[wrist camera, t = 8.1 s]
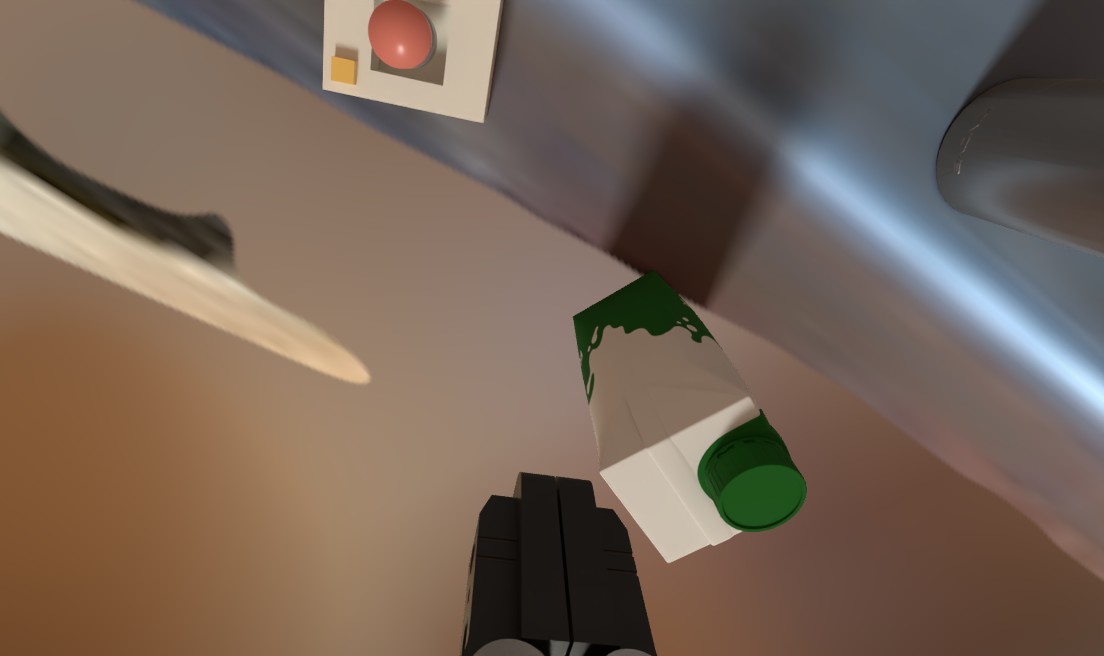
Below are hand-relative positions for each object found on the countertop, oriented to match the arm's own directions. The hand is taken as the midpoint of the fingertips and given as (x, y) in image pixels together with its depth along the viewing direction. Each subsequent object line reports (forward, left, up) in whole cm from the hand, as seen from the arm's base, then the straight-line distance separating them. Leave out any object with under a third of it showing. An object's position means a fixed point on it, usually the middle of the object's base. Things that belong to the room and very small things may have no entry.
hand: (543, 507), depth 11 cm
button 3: (+8, -8, -24) cm, 27 cm away
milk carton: (-10, +8, -29) cm, 32 cm away
